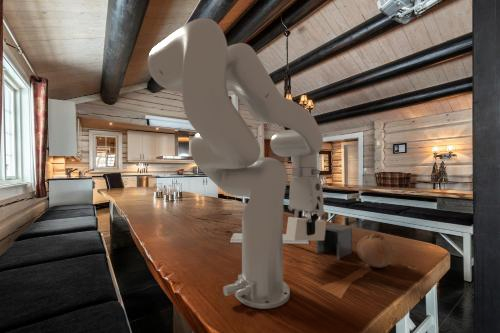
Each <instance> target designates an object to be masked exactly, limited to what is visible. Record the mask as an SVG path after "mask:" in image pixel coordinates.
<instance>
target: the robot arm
mask: <svg viewBox="0 0 500 333" xmlns="http://www.w3.org/2000/svg"><path fill="white" fill-rule="evenodd" d="M227 42H228V41H227V39H226V36H225V34H224V31H223V29H222V27H220V26H219V24H218V23H217V22H216V21H214V20H213V19H211V18H208V17H201V18H196V19H193V20H191V21H189V22H188V23H185V24H184V25H182V26H181V27H180V28H178V29H177V30H175V31H174V32H172V33H171V34H170V35H169V36H167V37H166V38H165V39H163V40H162V41H161V42H159V43H158V44H157V45H155V46H154V47H153V48H152V49H151V51H150V52H149V55H148V57H147V68H148V71H149V74H150V76H151V77H152V79H153V81H155V82H156V84H157V85H159V86H160V87H162V88H164V89H166V90H169V91H172V92H178V93H181V96H182V104H183V110H184V114H185V116H186V118H187V121H188V122H189V124H190V125H191V127H192V128H193V129H194V131H195V132H196V133H195V135H194V136H193V137H192V139H191V143H190V154H191V157H192V159H193V162H194V164H195V165H196V166H197V168H199V169H200V171H201V172H202V173H203V174H205V176H207V178H209V179H210V180H211V181H212V182H213V183H214V184H215V185H216V186H217V187H218V188H219V189H220V190H221V191H222V192H224V193H226V194H227V195H230V196H234V197H235V196H236V197H243V198H244V197H247V198H249V199H248V202H247V203H246V205H245V208H244V209H243V213H242V216H241V233H242V243H241V273H240V274H238V275H237V280H235V281H234V283H230V284H227V285H224V286H223V287H222V292H223V295H224V296H226V297H229V296H230V295H233V294H234V296H235V298H236V299H237V300H238V301H239V302H240V303H241V304H243V305H245V306H247V307H250V308H254V309H260V310H263V309H264V310H266V309H269V310H270V309H274V308H279V307H281V306H283V305H284V304H285V303H287V302H288V301H289V300H290V296H291V289H290V286H289V285H288V284H287V283H286V282H284V244H283V234H284V230H283V229H284V224H283V223H284V221H283V218H284V216H283V215H284V202H285V194H286V188H287V184H288V183H287V182H288V173H287V168H286V166H285V165H284V164H283V163H282V161H280V160H279V159H276V158H273V157H267V156H266V157H265V156H264V157H263V156H260V154H261V147H260V143H259V140H258V138H257V137H256V136H255V134H254V133H253V131H252V129H251V128H250V127H249V125H248V124H247V123H246V121H245V120H244V118H243V117H242V115H241V114H240V112H239V111H238V110H237V108H236V107H235V105H234V104H233V101H232V100H231V98H230V96H229V92H233V93H234V95H235V96H236V97H237V98H238V100H239V101H240V102H241V103H242V105H243V107H244V108H245V109H246V110H247V111H248V113H249V114H250V116H251V117H252V118H253V119H255V120H257V121H259V122H262V123H265V124H266V123H267V124H270V125H276V126H281V127H284V128H288V129H286V130H281V131H277V132H275V133H274V134H273V135H272V137H271V139H270V141H269V142H270V143H269V144H270V146H269V147H270V148H271V151H272V152H273V154H275V155H276V156H278V157H283V158H286V157H290V158H291V175H292V176H291V177H290V178H291V179H290V183H289V193H288V194H289V196H288V200H289V201H288V202H289V203H288V206H287V208H288V210H289V211H291V213H292V215H293V216H294V218H304V212H306V215H307V219H308V222H307V235H313V234H315V221H317V220H319V218H320V217H322V216H324V215H325V214H326V212H325V210H324V193H323V186H322V182H321V178H320V177H318V175H319V174H320V173H321V171H320V169H318V154H319V153H320V152H321V150H322V148H323V145H324V140H323V139H324V138H323V133H322V131H321V129H320V127H319V125H318V123H317V121H316V119H315V117H314V116H313V114H312V113H311V112H310V111H309V110H308V109H306V108H305V107H303V106H302V105H300V104H298V103H297V102H295V101H293V100H291V99H289V98H287V97H284V96H283V95H282V94H281V93H280V91H279V89H278V88H277V86H276V84H275V83H274V81H273V80H272V78H271V76H270V74H269V73H268V71H267V70H266V68H265V66H264V64H263V62H262V61H261V59H260V57H259V56H258V54H257V53H256V51H255V50H254V48H253V47H252V46H251V45H249V44H247V43H244V42H239V43H235V44H230V45H228V43H227Z"/></svg>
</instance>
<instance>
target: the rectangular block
mask: <svg viewBox="0 0 500 333" xmlns="http://www.w3.org/2000/svg"><path fill="white" fill-rule="evenodd" d="M307 222H308V218H305V217H302V218H294V217H293V216H288V218H287V223H286V233H285V234H286V238H289V239H292V240H308V241H317V240H324V238H325V229H326V226H327V221H326V220H322V219H321V220H320V219H317V221H315V234H313V235H307Z"/></svg>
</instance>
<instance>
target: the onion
mask: <svg viewBox="0 0 500 333" xmlns="http://www.w3.org/2000/svg"><path fill="white" fill-rule="evenodd" d="M356 253H357V255H358V257H359V259H360V261H363V263H365V264H366V265H368V266H369V267H371V268H376V269H377V268H379V269H382V268H383V267H385V268H386V267H387V266H388V265H389V264H390V263H391V262H392V261H393V257H394V251H393V247H392V245H391V243H390V242H389V241H388V240H387V239H386V238H385V236H383V235H381V234H379V233H376V232H372V233H369V234H367V235H365V236H363V237H361V238H360V239H359V240H358V242H357V245H356Z"/></svg>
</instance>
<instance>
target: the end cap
mask: <svg viewBox="0 0 500 333" xmlns="http://www.w3.org/2000/svg"><path fill="white" fill-rule="evenodd" d="M333 250H336V261H337V260H338V261H340V260H341V258H344V257H346V256H349V255H352V254H353V227H352V226H346V225H341V224H337V223H332V224H328V225H327V224H326V229H325V238H324V240H316V253H317V254H320V253H321V254H322V253H323V254H324V253H327V252H330V251H333Z"/></svg>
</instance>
